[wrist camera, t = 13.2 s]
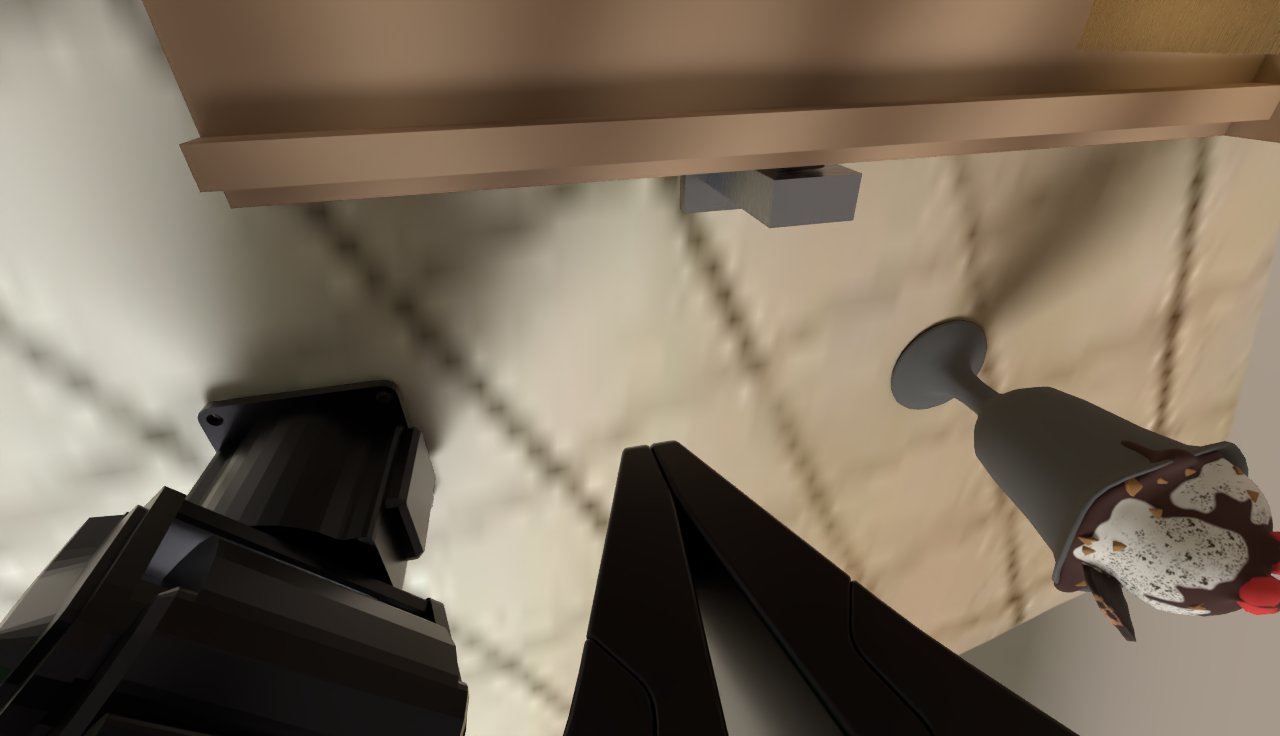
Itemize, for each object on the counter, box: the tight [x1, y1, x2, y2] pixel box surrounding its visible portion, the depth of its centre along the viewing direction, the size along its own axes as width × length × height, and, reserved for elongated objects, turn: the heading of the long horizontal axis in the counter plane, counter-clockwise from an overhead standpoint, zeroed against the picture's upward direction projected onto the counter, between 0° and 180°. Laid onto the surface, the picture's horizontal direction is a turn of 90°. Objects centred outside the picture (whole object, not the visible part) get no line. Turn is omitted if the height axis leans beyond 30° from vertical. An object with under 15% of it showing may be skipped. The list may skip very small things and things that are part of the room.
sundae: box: [891, 321, 1280, 641], centre depth 19 cm, size 7×7×15 cm
